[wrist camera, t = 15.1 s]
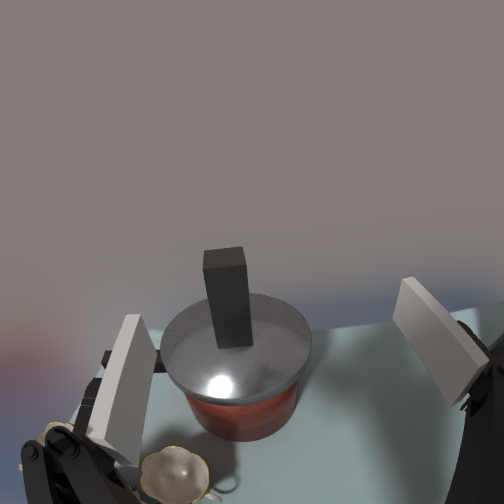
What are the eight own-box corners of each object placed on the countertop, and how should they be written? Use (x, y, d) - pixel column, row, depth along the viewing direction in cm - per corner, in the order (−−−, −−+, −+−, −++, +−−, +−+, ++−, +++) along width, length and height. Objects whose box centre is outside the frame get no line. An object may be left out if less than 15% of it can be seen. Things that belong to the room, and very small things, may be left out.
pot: (285, 352, 45) (286, 298, 40) (310, 432, 30) (321, 386, 25) (138, 365, 43) (115, 314, 38) (123, 443, 28) (83, 399, 23)
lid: (290, 294, 40) (290, 218, 35) (330, 390, 24) (350, 296, 19) (171, 308, 39) (153, 234, 34) (155, 410, 23) (109, 323, 18)
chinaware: (223, 457, 29) (198, 384, 23) (231, 559, 13) (195, 551, 7) (60, 439, 27) (5, 367, 21) (36, 513, 11) (-45, 450, 6)
